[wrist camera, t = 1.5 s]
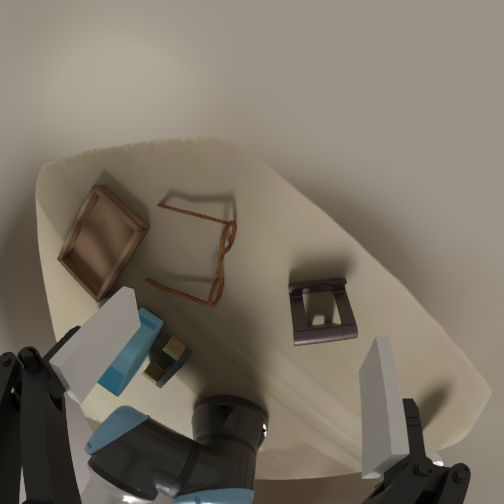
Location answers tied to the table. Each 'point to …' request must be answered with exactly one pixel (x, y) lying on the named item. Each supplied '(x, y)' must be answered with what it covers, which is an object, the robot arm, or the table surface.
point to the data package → (132, 354)
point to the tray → (101, 242)
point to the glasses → (223, 251)
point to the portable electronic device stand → (327, 330)
